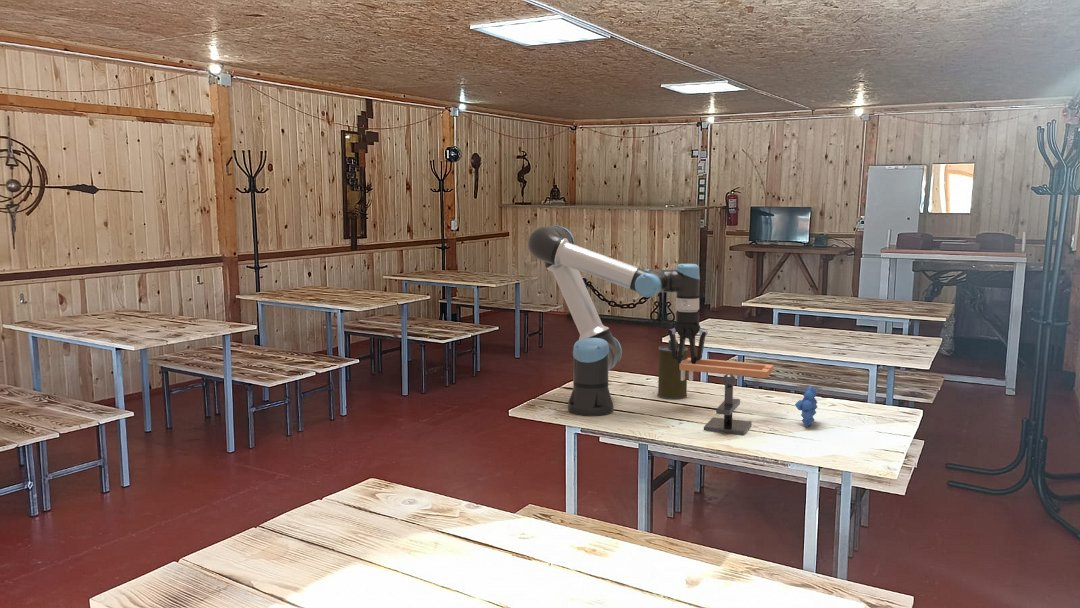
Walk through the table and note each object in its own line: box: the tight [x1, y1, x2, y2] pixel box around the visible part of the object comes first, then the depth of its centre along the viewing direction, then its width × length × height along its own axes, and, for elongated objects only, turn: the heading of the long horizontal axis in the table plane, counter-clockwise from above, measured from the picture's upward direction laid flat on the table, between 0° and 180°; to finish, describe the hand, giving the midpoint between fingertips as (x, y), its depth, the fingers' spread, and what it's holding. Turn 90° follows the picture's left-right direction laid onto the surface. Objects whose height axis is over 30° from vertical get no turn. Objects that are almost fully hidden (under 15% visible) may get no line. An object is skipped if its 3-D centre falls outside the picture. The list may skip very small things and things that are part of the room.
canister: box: [657, 339, 689, 400], centre depth 282 cm, size 11×10×20 cm
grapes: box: [794, 385, 818, 427], centre depth 245 cm, size 12×7×12 cm, turn 152°
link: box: [679, 357, 774, 379], centre depth 258 cm, size 28×12×2 cm, turn 64°
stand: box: [703, 374, 753, 436], centre depth 241 cm, size 12×15×17 cm
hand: (686, 380), depth 264 cm, fingers closed on link, 2 cm apart
